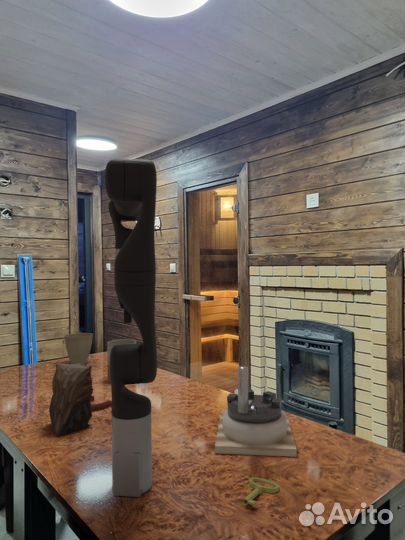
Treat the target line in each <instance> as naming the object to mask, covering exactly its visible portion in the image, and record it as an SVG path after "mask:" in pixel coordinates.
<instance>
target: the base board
mask: <svg viewBox="0 0 405 540" xmlns="http://www.w3.org/2000/svg"><path fill="white" fill-rule="evenodd" d="M218 422H219V423H218V426H217V427H218V428H217V433H216V437H215V443H214V454H220V455H221V454H222V455H223V454H225V455H242V456H243V455H246V456H270V457H272V456H273V457H293V458H294V457H295V458H296V457H297V456H298V455H297V450H298V449H297V447H296V443H295V438H294V436H293V432H292V428H291V424H290V421H289V418H288V417H287V436H286V437H285V438H284V439H283V440H282V441H280V442H277V443H274V444H269V445H247V444H242V443H238V442H235V441H233V440H230V439H229V438H227V437H226V436H225V435H224V433H223V415H220V417H219V421H218Z"/></svg>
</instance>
